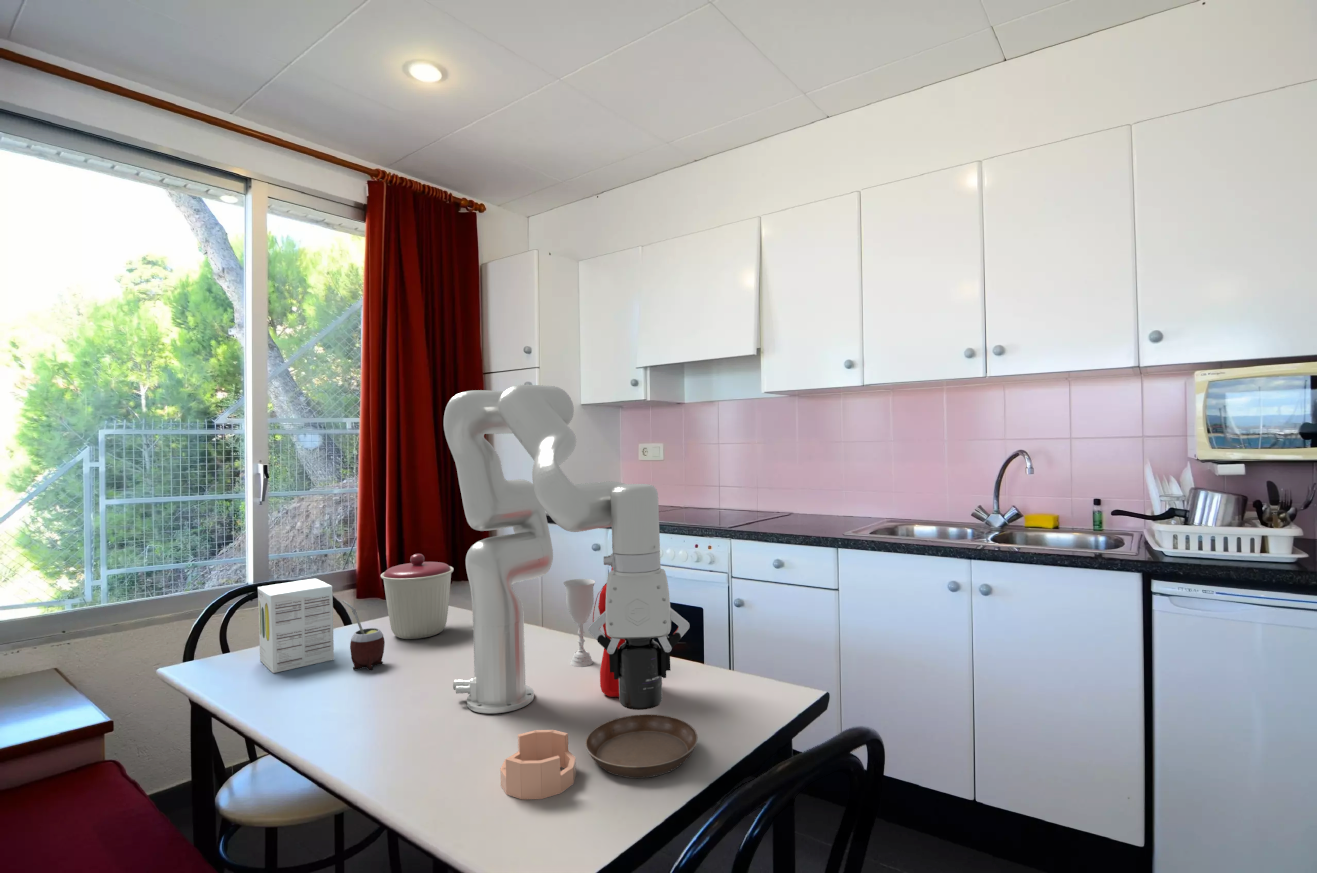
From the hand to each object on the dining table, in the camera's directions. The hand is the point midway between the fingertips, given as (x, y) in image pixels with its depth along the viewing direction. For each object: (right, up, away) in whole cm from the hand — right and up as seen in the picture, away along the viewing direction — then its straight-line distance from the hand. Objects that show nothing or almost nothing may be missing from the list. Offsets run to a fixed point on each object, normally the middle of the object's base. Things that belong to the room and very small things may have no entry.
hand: (640, 675), depth 105 cm
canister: (-60, -15, +71) cm, 94 cm away
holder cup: (-15, -13, -7) cm, 21 cm away
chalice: (-14, -13, +44) cm, 48 cm away
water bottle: (-4, -13, +27) cm, 30 cm away
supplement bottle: (0, -5, 0) cm, 5 cm away
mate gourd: (-63, -15, +46) cm, 79 cm away
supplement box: (-82, -15, +52) cm, 98 cm away
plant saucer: (0, -13, 0) cm, 13 cm away
